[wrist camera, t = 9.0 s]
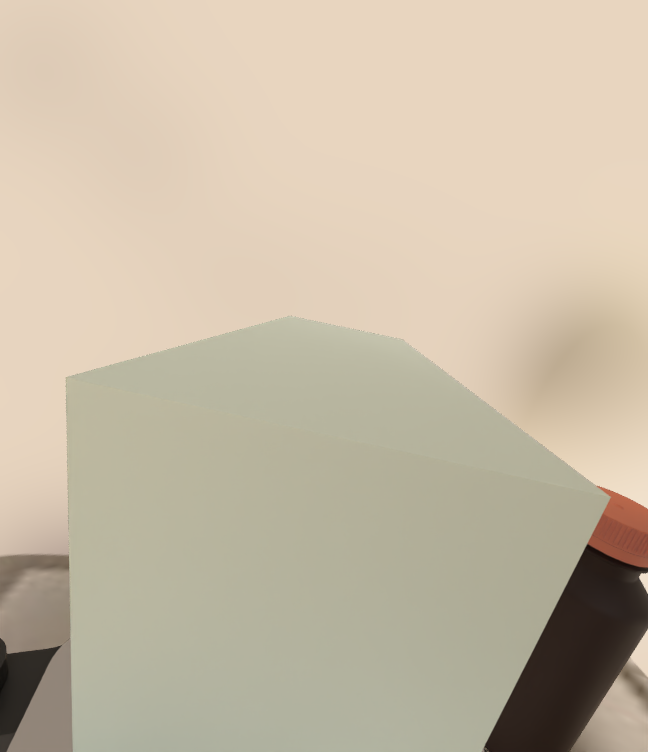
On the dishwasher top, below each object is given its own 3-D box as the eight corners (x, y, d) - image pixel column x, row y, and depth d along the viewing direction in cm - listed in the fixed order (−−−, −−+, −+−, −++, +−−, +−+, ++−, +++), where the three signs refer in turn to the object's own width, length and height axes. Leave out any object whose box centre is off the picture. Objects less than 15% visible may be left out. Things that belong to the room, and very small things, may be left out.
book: (325, 628, 18) (402, 339, 13) (288, 1131, 7) (611, 497, 3) (241, 608, 18) (290, 315, 13) (78, 1070, 7) (65, 377, 3)
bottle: (508, 800, 20) (653, 556, 15) (443, 675, 26) (529, 472, 21) (579, 769, 22) (727, 546, 17) (503, 660, 28) (595, 473, 23)
